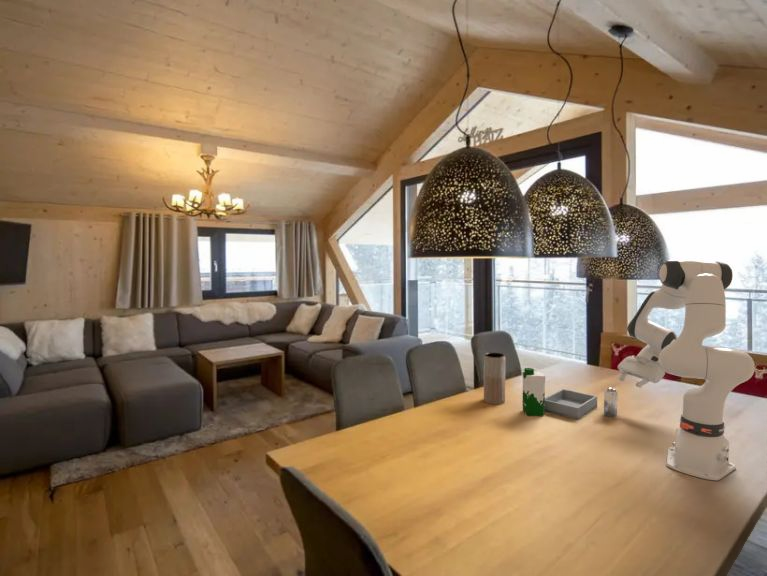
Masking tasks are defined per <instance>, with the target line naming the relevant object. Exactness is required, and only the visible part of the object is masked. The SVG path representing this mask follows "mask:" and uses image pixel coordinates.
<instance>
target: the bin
mask: <svg viewBox="0 0 767 576" xmlns="http://www.w3.org/2000/svg"><path fill="white" fill-rule="evenodd" d="M597 407H598V396H597V395H593V394H588V393H583V392H580V391H573V390H570V389H564V388H562V389H560V390H558V391H556V392H554V393H552V394H550V395H549V396H545V405H544V412H546V413H551V414H554V415H558V416H562V417H566V418H570V419H574V420H579V419H581V418H582V417H585V416H586V415H587V414H589V413H590V412H591V411H593V410H595V409H596V408H597Z"/></svg>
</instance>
